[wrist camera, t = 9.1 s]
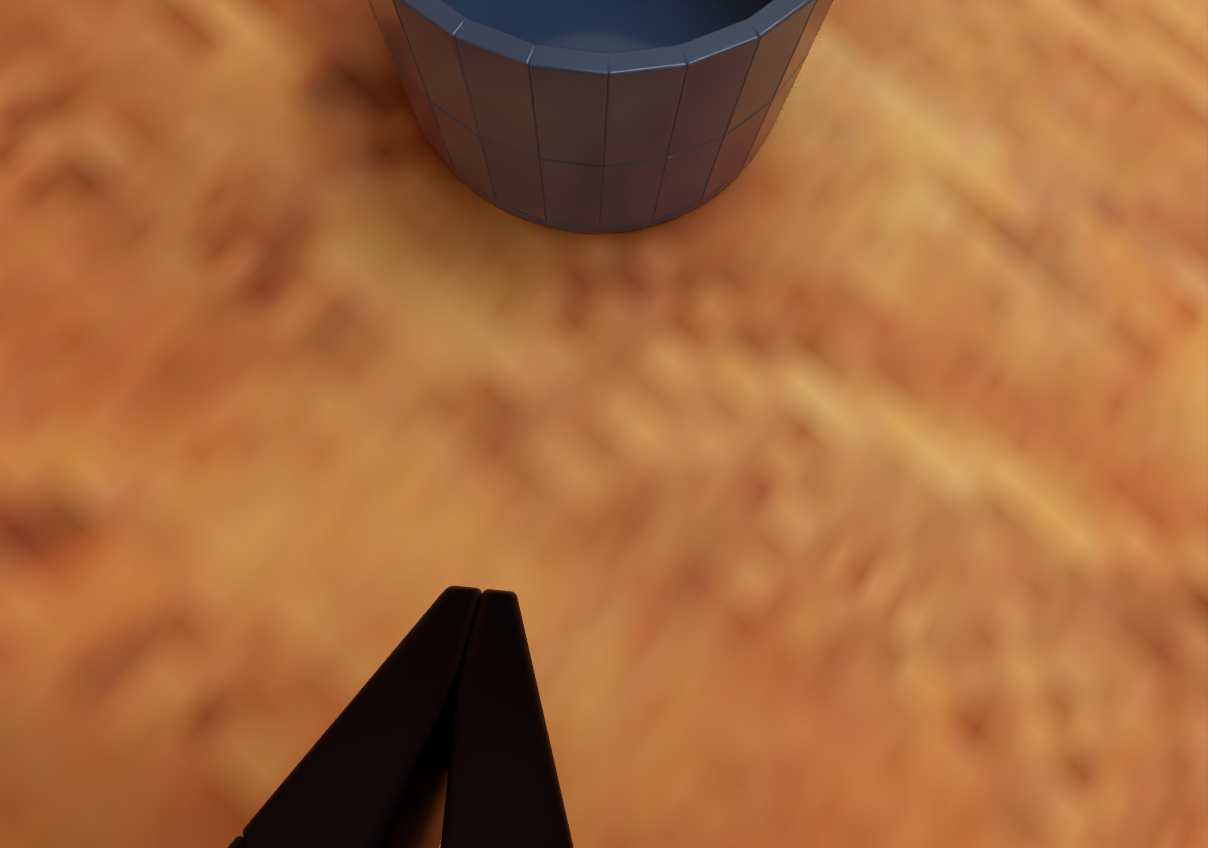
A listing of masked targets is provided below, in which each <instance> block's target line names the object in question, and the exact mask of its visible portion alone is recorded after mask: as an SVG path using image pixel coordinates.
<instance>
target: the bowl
mask: <svg viewBox="0 0 1208 848" xmlns="http://www.w3.org/2000/svg"><path fill="white" fill-rule="evenodd" d="M368 2H369V4H370V7H371V9H372V12H373V14H374V17H375V19H376V21H377V24H378V26H379V29H380V31H381V34H382V36H383V39H384V41H385V44H386V46H387V48H388V51H389V53H390V56H391V58H392V61H393V63H394V66H395V68H396V71H397V73H398V75H399V78H400V80H401V83H402V85H403V88H404V90H405V92H406V95H407V97H408V99H409V102H410V104H411V106H412V109H413V111H414V114H415V116H416V119H417V121H418V123H419V125H420V127H421V130H422V131H423V133H424V134H425V136H426V138H427V140H428V142H429V143H430V145H431V146H432V147H433V149H434V150H435V152H436V153H437V154H438V156H439V157H440V159H441V160H442V161H443V162H444V164H445V165H446V166H447V167H448V168H449V169H450V170H451V171H452V172H453V173H454V174H455V175H456V177H457V178H458V179H459V180H461V181H462V182H463V183H464V184H465V185H467V186H468V187H469V188H470V189H472V190H473V191H474V192H475V193H476V194H478V195H479V196H481V197H482V198H484V199H485V200H487V201H489V202H490V203H492V204H493V205H495V206H496V207H498V208H500V209H502V210H504V211H506V212H508V213H510V214H513V215H515V216H517V217H519V218H521V219H524V220H527V221H530V222H533V223H536V224H539V225H542V226H546V227H549V228H555V229H560V230H566V231H571V232H584V233H612V232H626V231H631V230H636V229H641V228H646V227H651V226H654V225H657V224H660V223H663V222H666V221H669V220H672V219H675V218H677V217H679V216H681V215H683V214H685V213H687V212H689V211H691V210H693V209H695V208H697V207H699V206H700V205H702V204H703V203H705V202H707V201H708V200H710V199H711V198H713V197H714V196H716V195H717V194H718V193H720V192H721V191H722V190H723V189H724V188H725V187H727V186H728V185H729V184H730V183H731V182H732V181H733V180H735V179H736V178H737V177H738V175H739V174H740V173H741V172H742V171H743V170H744V169H745V167H746V166H747V165H748V164H749V163H750V162H751V161H752V159H753V158H754V156H755V155H756V153H757V152H758V150H759V149H760V147H761V146H762V144H763V143H764V141H765V139H766V137H767V136H768V135H769V133H770V132H771V130H772V128H773V126H774V124H775V122H776V120H777V118H778V116H779V113H780V111H781V109H782V107H783V105H784V103H785V101H786V99H787V97H788V95H789V92H790V90H791V88H792V86H793V84H794V82H795V80H796V78H797V76H798V74H799V72H800V69H801V67H802V65H803V63H804V61H805V59H806V57H807V55H808V52H809V50H810V48H811V46H812V44H813V42H814V40H815V38H816V36H817V34H818V32H819V30H820V27H821V25H822V23H823V21H824V19H825V17H826V15H827V13H828V11H829V9H830V6H831V4H832V2H833V0H368Z"/></svg>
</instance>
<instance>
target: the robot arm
mask: <svg viewBox="0 0 1208 848" xmlns="http://www.w3.org/2000/svg"><path fill="white" fill-rule="evenodd" d="M441 836H442V839H441ZM440 839H441V848H574V847H573V843H572V839H571V834H570V830H569V825H568V821H567V816H566V812H565V807H564V803H563V798H562V794H561V790H560V785H559V781H558V776H557V772H556V767H555V763H554V758H553V754H552V749H551V745H550V741H549V736H548V732H547V727H546V723H545V718H544V714H543V709H542V705H541V700H540V696H539V692H538V687H537V683H536V678H535V674H534V669H533V665H532V660H531V656H530V651H529V647H528V643H527V638H526V634H525V629H524V625H523V620H522V616H521V611H520V607H519V603H518V598H517V596H516V594H515V593H514V592H512V591H502V590H492V589H487V590H485V591H484V592H483V593H482V592H481V590H480V589H478V588H472V587H462V586H450V587H448V588H447V589H445V590H444V592H443V593H442V594H441V595H440V596H439V597H438V599H437V600H436V601H435V602H434V603H433V604H432V606H431V607H430V608H429V609H428V610H427V612H426V613H425V614H424V615H423V616H422V618H421V619H420V620H419V621H418V622H417V623H416V625H415V626H414V627H413V628H412V629H411V631H410V632H409V633H408V634H407V635H406V637H405V638H404V639H403V640H402V641H401V642H400V644H399V645H398V646H397V647H396V648H395V650H394V651H393V652H392V653H391V654H390V656H389V657H388V658H387V659H386V660H385V662H384V663H383V664H382V665H381V666H380V667H379V669H378V670H377V671H376V672H375V673H374V675H373V676H372V677H371V678H370V679H369V681H368V682H367V683H366V684H365V685H364V686H363V688H362V689H361V690H360V691H359V692H358V694H357V695H356V696H355V697H354V698H353V700H352V701H351V702H350V703H349V704H348V705H347V707H346V708H345V709H344V710H343V711H342V713H341V714H340V715H339V716H338V717H337V719H336V720H335V721H334V722H333V723H332V724H331V726H330V727H329V728H328V729H327V730H326V732H325V733H324V734H323V735H322V736H321V738H320V739H319V740H318V741H317V742H316V743H315V745H314V746H313V747H312V748H311V749H310V751H309V752H308V753H307V754H306V755H305V757H304V758H303V759H302V760H301V761H300V762H299V764H298V765H297V766H296V767H295V768H294V770H293V771H292V772H291V773H290V774H289V776H288V777H287V778H286V779H285V780H284V781H283V783H282V784H281V785H280V786H279V787H278V789H277V790H276V791H275V792H274V793H273V795H272V796H271V797H270V798H269V799H268V800H267V802H266V803H265V804H264V805H263V806H262V808H261V809H260V810H259V811H258V812H257V814H256V815H255V816H254V817H253V818H252V819H251V821H250V822H249V823H248V824H247V825H246V827H245V828H244V830H243V837H242V836H238V837H236V838H235V839H234V840H233V842H232V843H231V844H230V845H229V846H228V848H438V846H439V842H440Z"/></svg>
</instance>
